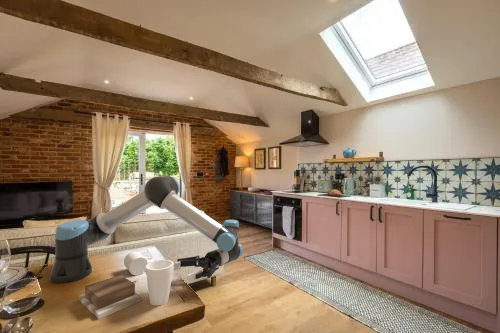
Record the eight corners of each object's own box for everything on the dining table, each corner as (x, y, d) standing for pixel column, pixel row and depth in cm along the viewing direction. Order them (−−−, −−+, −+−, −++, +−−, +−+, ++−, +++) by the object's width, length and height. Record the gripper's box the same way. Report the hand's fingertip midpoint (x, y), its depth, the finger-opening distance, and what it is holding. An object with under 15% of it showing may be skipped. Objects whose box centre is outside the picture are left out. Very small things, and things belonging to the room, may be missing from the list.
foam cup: (148, 311, 80) (149, 272, 80) (142, 299, 88) (143, 263, 88) (176, 302, 86) (177, 265, 86) (168, 291, 93) (169, 258, 94)
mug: (129, 277, 105) (129, 259, 105) (123, 270, 113) (123, 253, 113) (156, 270, 113) (157, 253, 113) (149, 264, 121) (150, 248, 121)
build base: (78, 300, 87) (79, 284, 87) (119, 285, 98) (119, 272, 98) (98, 319, 76) (98, 301, 76) (141, 300, 87) (141, 285, 87)
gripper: (237, 274, 101) (197, 294, 85) (198, 260, 117) (158, 275, 100) (237, 256, 101) (198, 273, 85) (198, 244, 117) (158, 256, 100)
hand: (176, 274), depth 92 cm, fingers open, 13 cm apart
